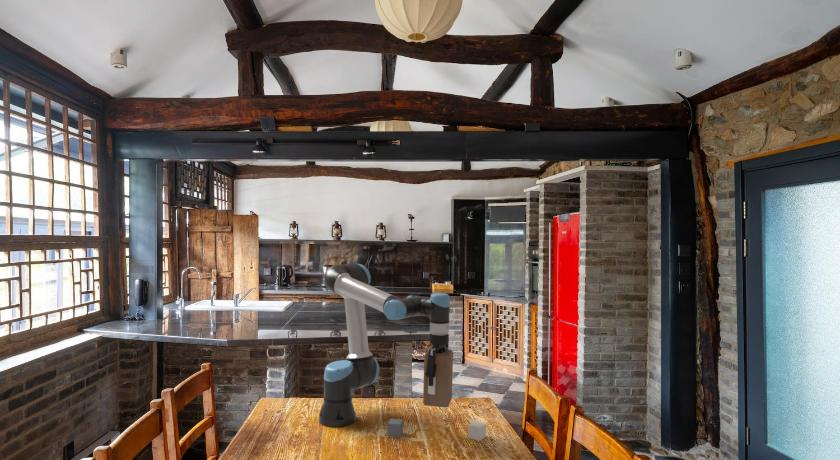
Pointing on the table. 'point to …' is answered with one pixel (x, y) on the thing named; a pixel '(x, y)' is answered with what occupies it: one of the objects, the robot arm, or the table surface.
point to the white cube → (477, 430)
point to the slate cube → (395, 427)
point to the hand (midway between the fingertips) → (437, 389)
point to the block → (439, 380)
